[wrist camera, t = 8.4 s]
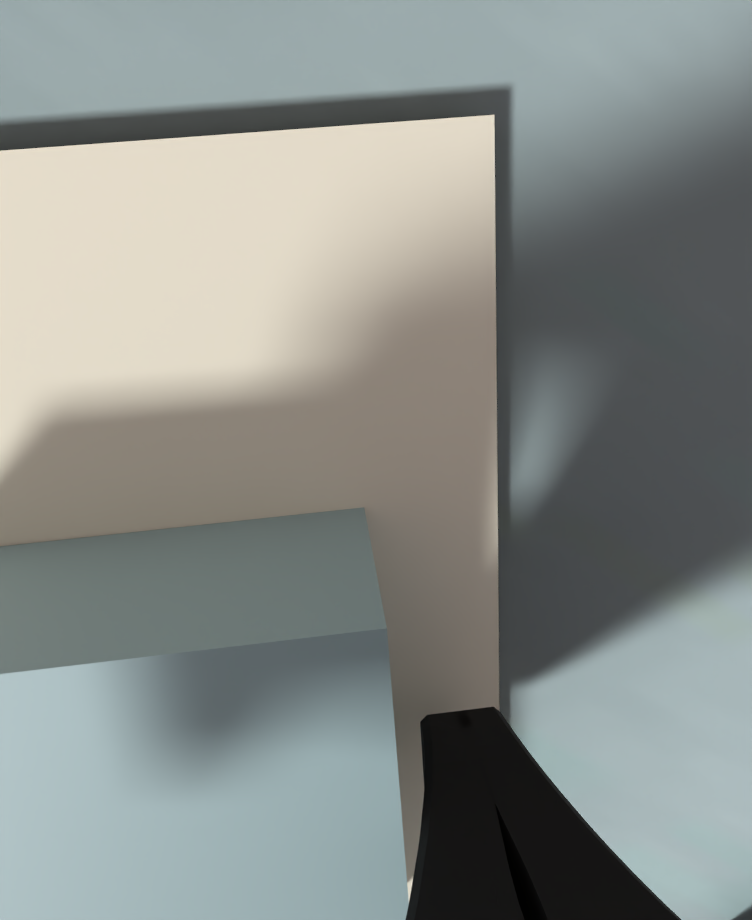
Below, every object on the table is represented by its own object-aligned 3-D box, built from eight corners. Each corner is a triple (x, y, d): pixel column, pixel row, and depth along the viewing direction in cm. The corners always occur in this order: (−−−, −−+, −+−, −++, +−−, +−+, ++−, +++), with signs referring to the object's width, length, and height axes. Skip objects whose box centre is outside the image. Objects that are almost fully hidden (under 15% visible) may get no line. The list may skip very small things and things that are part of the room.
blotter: (488, 117, 9) (493, 115, 8) (498, 1023, 15) (502, 1039, 15) (-361, 178, 8) (-383, 179, 8) (35, 1093, 15) (29, 1111, 14)
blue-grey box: (386, 627, 7) (-227, 701, 7) (422, 1082, 10) (-5, 1150, 10) (364, 507, 10) (-73, 554, 10) (397, 891, 13) (63, 938, 13)
